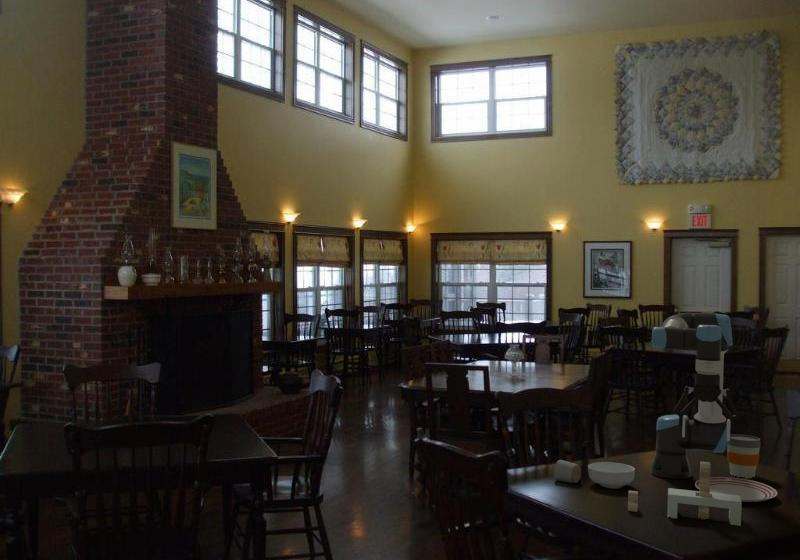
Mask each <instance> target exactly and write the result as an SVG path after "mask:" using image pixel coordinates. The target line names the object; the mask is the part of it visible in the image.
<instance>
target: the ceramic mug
mask: <svg viewBox="0 0 800 560" xmlns="http://www.w3.org/2000/svg"><path fill="white" fill-rule="evenodd" d="M581 475H582V468H581V466H579V464H577V463H573V462H570V461H566V460H563V459H559V460H557V461H556V462H555V465H554V469H553V476H554V477H553V478H554V479H555V480H557V481H558V482H559V481H560V482H565V483H568V484H576V483H578V482H579V480H580V479H581Z"/></svg>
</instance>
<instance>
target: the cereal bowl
mask: <svg viewBox="0 0 800 560" xmlns="http://www.w3.org/2000/svg"><path fill="white" fill-rule="evenodd" d="M587 470H588V471H587V473H588V476H589V478H590V480H592V481H593V482H595V483H596V484H598V485H600V487H603V488H607V489H621V488H623V486H627V485H629V484H631V483H632V482H633V481H634V479H635V475H636V469H635V467H634V466H632V465H629V464H625V463H620V462H611V461H598V462H592V463H590V464H588V465H587Z"/></svg>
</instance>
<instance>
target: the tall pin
mask: <svg viewBox="0 0 800 560" xmlns="http://www.w3.org/2000/svg"><path fill="white" fill-rule="evenodd" d="M711 465H712V464H711V462H710V461H700V462H699V479H700V484H699V489H698V490H699V496H700V497H709V495H710V477H711ZM698 516H699V517H698V519H699V518H701V519H700V520H705V519H709V518H710V517H709V516H710V507H709V506H700V505H698ZM709 520H710V519H709Z"/></svg>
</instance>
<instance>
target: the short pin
mask: <svg viewBox="0 0 800 560" xmlns="http://www.w3.org/2000/svg"><path fill="white" fill-rule="evenodd" d="M627 494H628V495H627V511H629V512H636V513H638V509H639V508H638V507H639V504H638V503H639V502H638V501H639V491H637V490H628V493H627Z"/></svg>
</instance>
